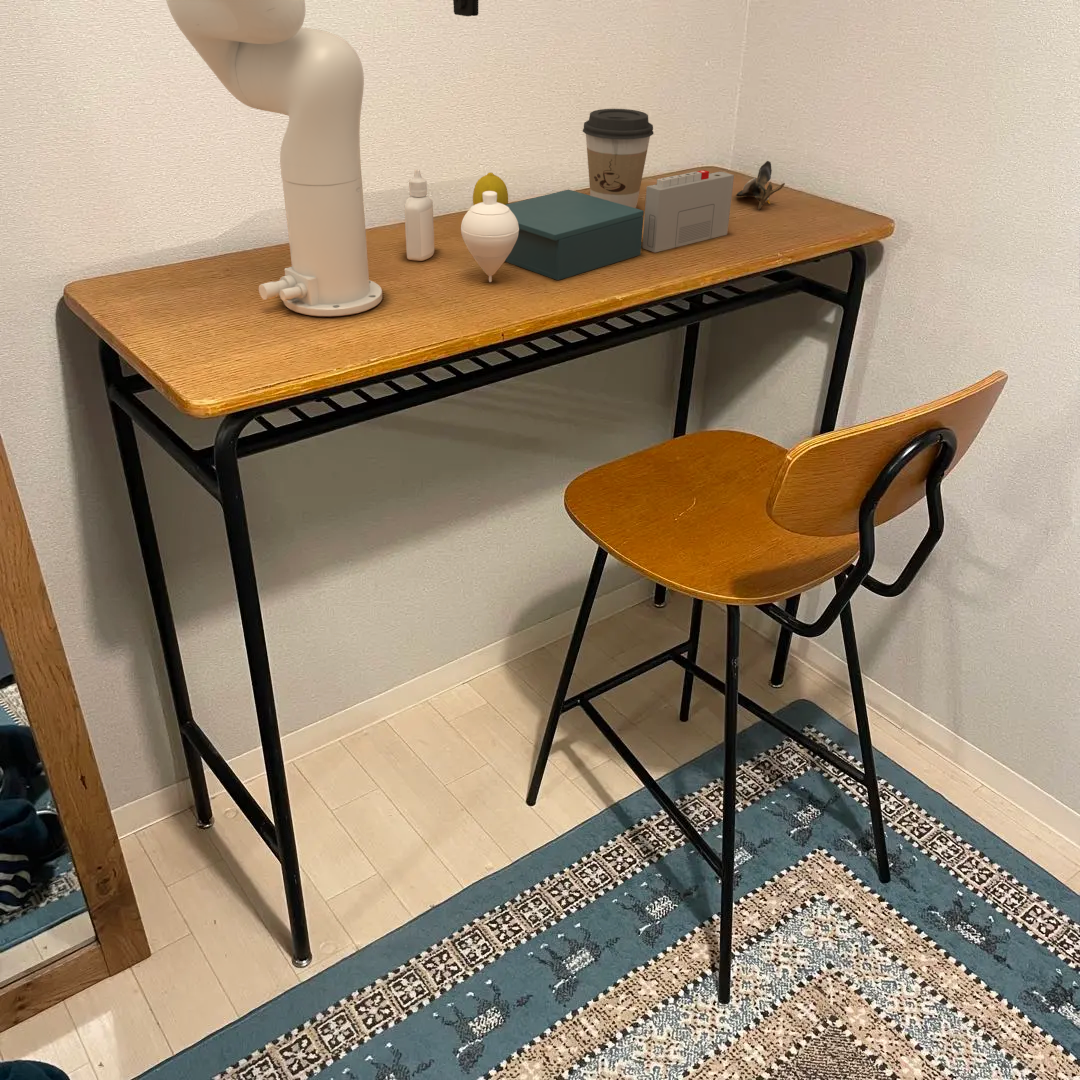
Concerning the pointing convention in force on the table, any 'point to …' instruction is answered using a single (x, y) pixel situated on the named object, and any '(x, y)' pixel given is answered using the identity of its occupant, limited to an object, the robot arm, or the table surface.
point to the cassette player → (687, 209)
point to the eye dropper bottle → (419, 220)
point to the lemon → (490, 188)
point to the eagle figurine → (760, 186)
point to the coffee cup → (617, 153)
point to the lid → (569, 214)
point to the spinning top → (489, 232)
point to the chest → (577, 250)
